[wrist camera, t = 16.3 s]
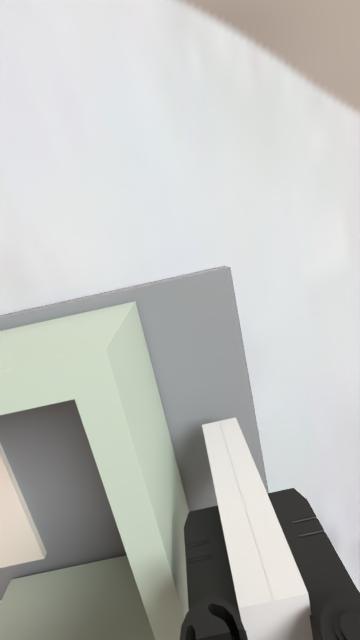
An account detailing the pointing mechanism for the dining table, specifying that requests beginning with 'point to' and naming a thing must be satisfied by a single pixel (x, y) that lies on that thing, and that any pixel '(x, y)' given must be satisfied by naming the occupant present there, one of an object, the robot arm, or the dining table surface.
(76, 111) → the dining table surface
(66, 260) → the dining table surface
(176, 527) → the housing
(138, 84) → the dining table surface
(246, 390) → the base
